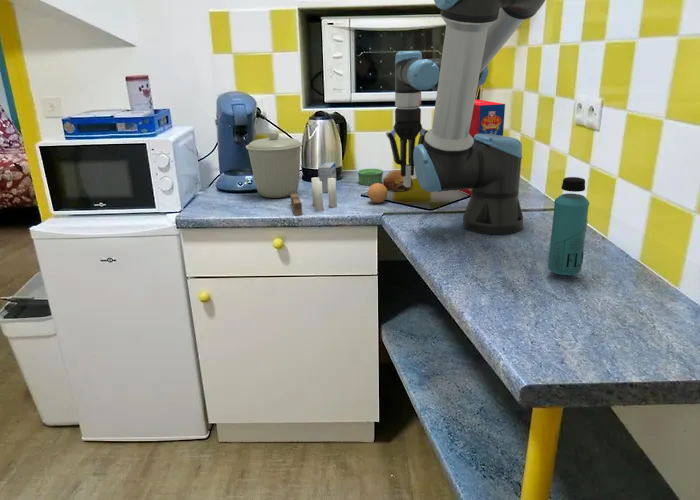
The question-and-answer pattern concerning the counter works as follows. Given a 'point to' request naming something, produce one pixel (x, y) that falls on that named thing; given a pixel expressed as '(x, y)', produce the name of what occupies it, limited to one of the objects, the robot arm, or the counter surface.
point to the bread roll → (395, 181)
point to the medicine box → (326, 174)
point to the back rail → (296, 204)
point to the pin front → (332, 192)
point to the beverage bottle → (568, 229)
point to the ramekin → (370, 176)
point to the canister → (275, 165)
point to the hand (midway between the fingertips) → (407, 186)
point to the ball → (377, 193)
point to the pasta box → (486, 121)
